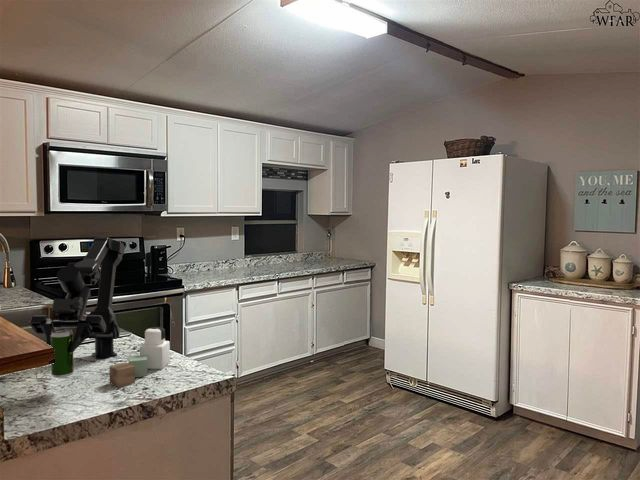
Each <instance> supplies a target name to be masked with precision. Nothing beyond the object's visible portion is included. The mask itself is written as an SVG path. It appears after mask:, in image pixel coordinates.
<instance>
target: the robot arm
mask: <svg viewBox="0 0 640 480" xmlns="http://www.w3.org/2000/svg"><path fill="white" fill-rule="evenodd" d="M125 250H126V249H125V244H124V243H123V242H122V241H120V240H116V239H112V238H110V237H106V236H105V237H104V236H103V237H101V236H100V237H99V236H98V237H94V239H93V242H92V245H91V246H90V248H89V250H88V252H87V253H86V255H85V257H84V258H83V260H80V261H78V262H68V263H67V265H65V266H63V267H61V268H60V269H59V270H58V271H57V272H56V278H57V281H58V282H59V284H60V286H61V288H62V290H63V291H64V292H65V293H67V294H66V296H65V298H54V299H52V300H53V301H52V307H51V312H55V314H54V315H55V318H58V319H53V318H50V317H49V316H48V314H41V315H40V314H36V315H35V314H34V315H33V316H31V317H30V320H29V321H28V325H29V326H30V327H31V329H32V330H33V331H34V334H37V335H41V334H42V335H45V338H46V345H47V344H49V345H51V343H50V335H51V331H53V330H57V328H60V329H71V328H74V329H75V328H76V330H75V333H74V335H73V341H72V344H71V348H70V352H71V353H73V354H74V352H75V351H76V349H78V348H79V347H80V345H82V344H83V343H84V341H86V340H87V339H89V340H91V339H94V352H92V353H91V355H92V356H93V357H94V358H95V359H96V360H97V359H98V360H99V359H104V358H105V359H106V358H111V357H117V356H118V354H117V353H116V351H114V345H115V344H114V343H115V342H114V339H117V338H120V333H121V332H120V330H121V329H120V326H119V325H118V323H117V319H116V317H117V316H116V315H115V313H114V311H113V308H112V307H113V298H114V290H115V289H114V287H115V280H116V271H117V267H118V266H119V264H120V262H122V260H123V255H124V254H125ZM100 266H101V267H100ZM99 267H100V270H99ZM98 281H99V283H98ZM97 283H98V293H97V300H96V307H95V308H94V309H93V310H91V311H90V312H89V314H88V315H86V313H87V309H86V307H87V304H88V300H89V299H91V298H92V297H91V296H92V295H91V289H90V287H89V286H95V285H96V284H97ZM84 315H86V318H85V320H84V319H83V317H84Z"/></svg>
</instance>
